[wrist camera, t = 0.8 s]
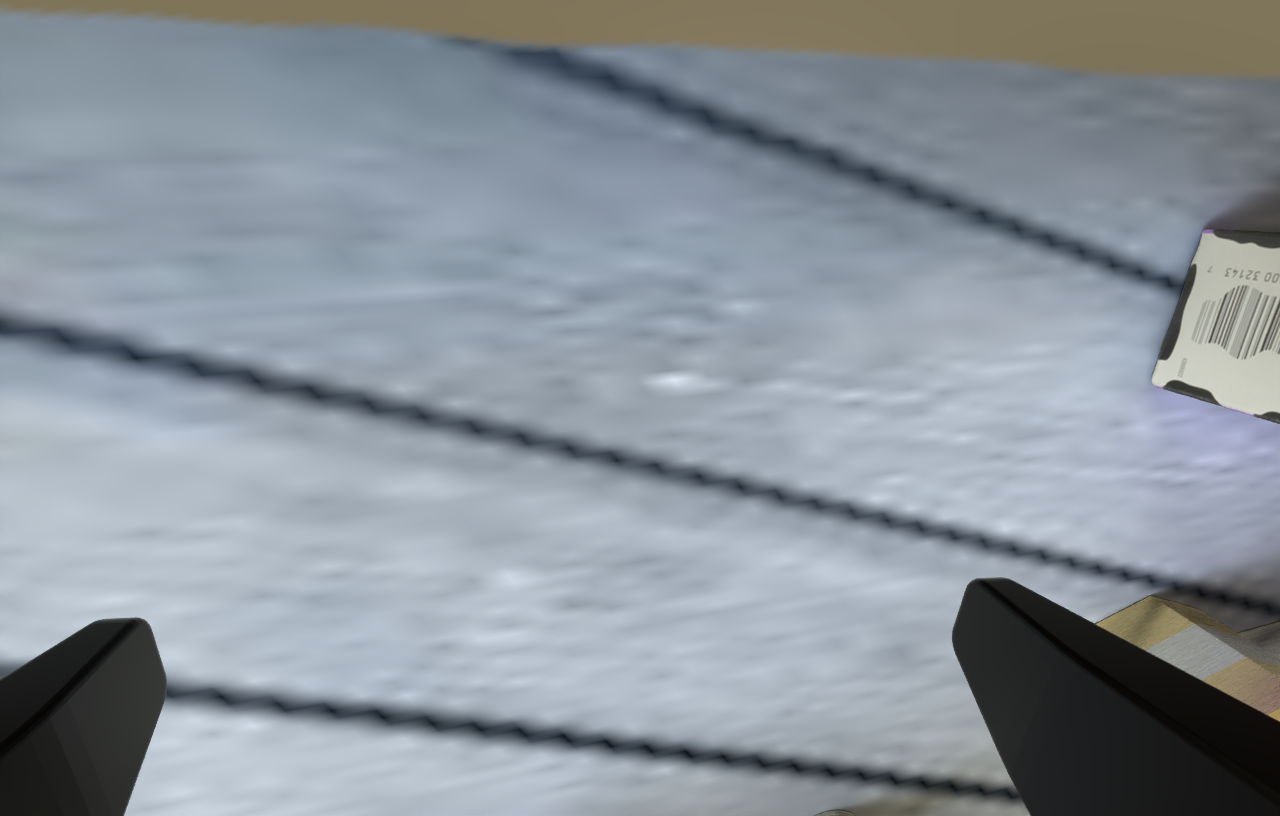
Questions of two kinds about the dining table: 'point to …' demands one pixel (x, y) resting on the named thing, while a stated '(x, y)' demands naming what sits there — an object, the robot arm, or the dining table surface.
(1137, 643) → the hinge
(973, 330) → the dining table surface
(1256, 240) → the candy box
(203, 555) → the dining table surface
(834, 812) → the pin
